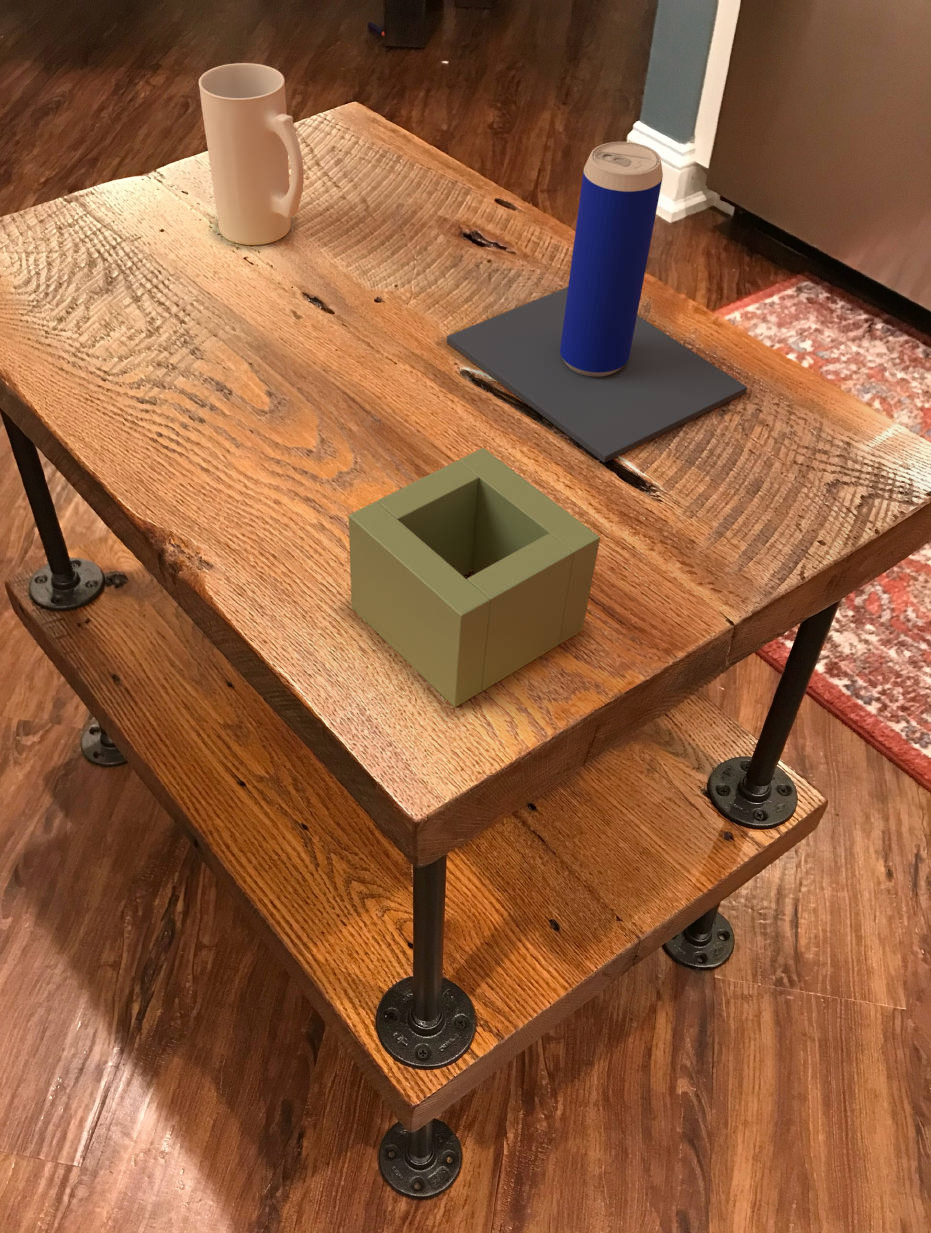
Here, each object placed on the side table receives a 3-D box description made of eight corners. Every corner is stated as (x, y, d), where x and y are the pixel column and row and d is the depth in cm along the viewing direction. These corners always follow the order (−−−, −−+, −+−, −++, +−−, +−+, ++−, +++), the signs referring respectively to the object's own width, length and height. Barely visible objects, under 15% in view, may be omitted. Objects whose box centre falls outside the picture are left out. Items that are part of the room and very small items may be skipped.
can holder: (475, 541, 74) (483, 447, 68) (582, 630, 69) (600, 537, 63) (351, 608, 70) (347, 514, 64) (454, 708, 65) (461, 615, 59)
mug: (199, 226, 100) (180, 79, 90) (259, 200, 102) (246, 55, 93) (275, 270, 95) (263, 120, 86) (335, 242, 98) (330, 94, 89)
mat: (745, 393, 84) (747, 386, 84) (604, 463, 79) (605, 456, 79) (582, 286, 94) (583, 279, 93) (446, 342, 88) (446, 335, 88)
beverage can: (636, 350, 87) (675, 148, 75) (616, 386, 84) (652, 182, 72) (572, 334, 88) (599, 133, 77) (549, 369, 85) (574, 166, 74)
